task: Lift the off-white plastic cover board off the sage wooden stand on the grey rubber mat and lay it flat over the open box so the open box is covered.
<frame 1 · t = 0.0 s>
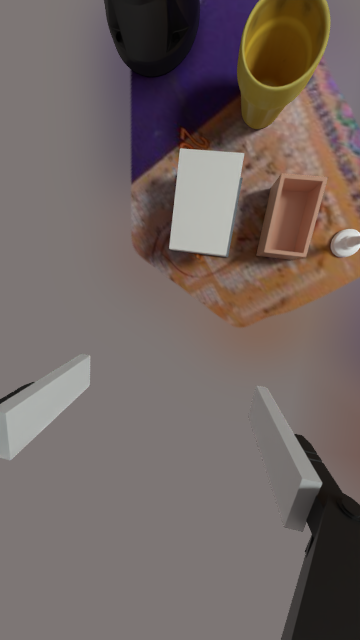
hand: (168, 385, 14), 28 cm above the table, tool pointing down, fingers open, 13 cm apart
chess piece: (344, 243, 35), on the table
open box: (281, 225, 36), on the table
plant pot: (260, 108, 32), on the table
cover board: (204, 207, 32), point 5 cm above the table, touching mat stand
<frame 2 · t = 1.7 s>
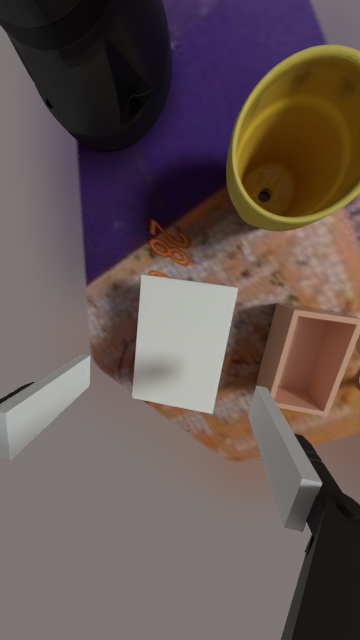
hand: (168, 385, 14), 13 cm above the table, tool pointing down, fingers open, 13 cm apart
open box: (291, 349, 26), on the table
plant pot: (262, 199, 22), on the table
cover board: (180, 344, 22), point 5 cm above the table, touching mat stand
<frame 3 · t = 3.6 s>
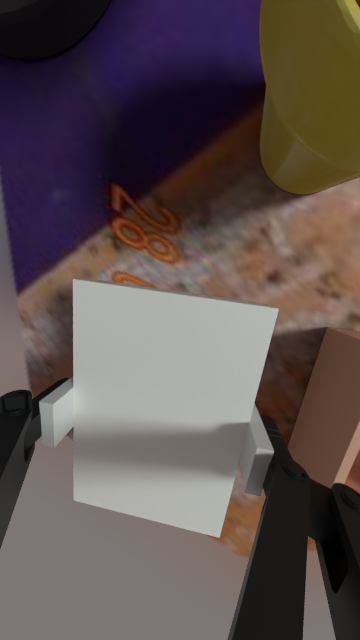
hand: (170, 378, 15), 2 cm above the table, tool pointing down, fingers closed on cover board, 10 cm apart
open box: (348, 401, 16), on the table
plant pot: (309, 142, 12), on the table
cover board: (160, 406, 12), point 5 cm above the table, touching gripper, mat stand
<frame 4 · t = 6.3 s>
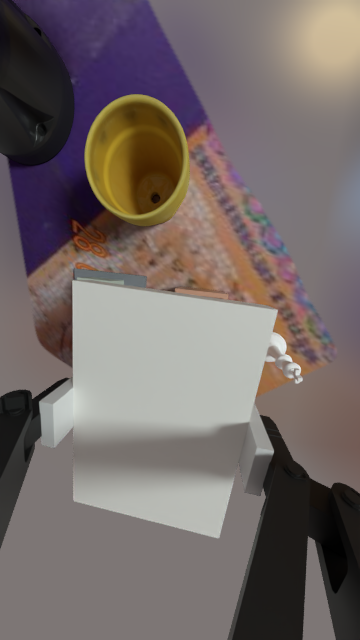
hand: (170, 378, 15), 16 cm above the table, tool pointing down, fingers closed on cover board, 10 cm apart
chess piece: (268, 346, 30), on the table
open box: (197, 325, 31), on the table
plant pot: (158, 200, 27), on the table
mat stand: (110, 314, 32), on the table
cover board: (160, 407, 12), point 20 cm above the table, touching gripper
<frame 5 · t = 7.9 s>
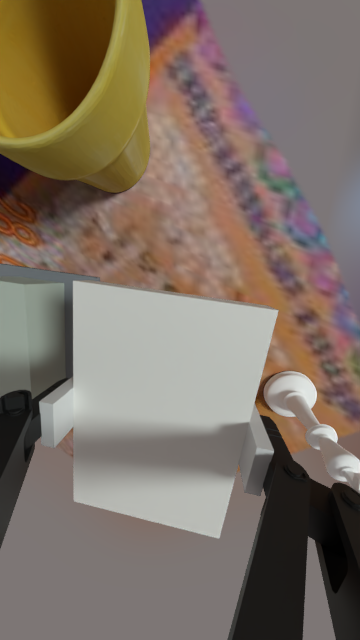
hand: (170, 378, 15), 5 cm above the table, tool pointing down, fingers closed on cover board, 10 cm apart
chess piece: (287, 391, 20), on the table
plant pot: (115, 154, 17), on the table
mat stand: (48, 332, 21), on the table
cover board: (160, 407, 12), point 8 cm above the table, touching gripper
when the fingers open (3 cm above the table, at t = 9.1 s): cover board drops 1 cm, resting on open box.
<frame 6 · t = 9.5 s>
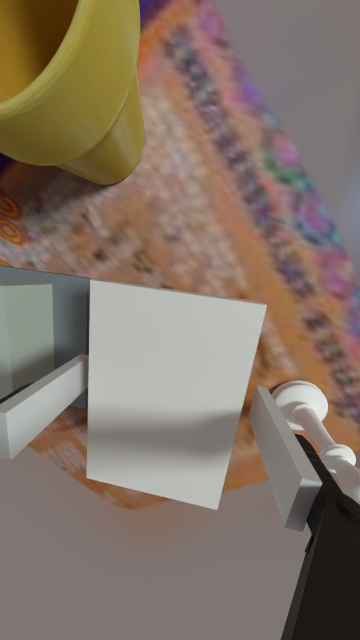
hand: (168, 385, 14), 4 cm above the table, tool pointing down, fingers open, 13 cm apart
chess piece: (294, 402, 18), on the table
plant pot: (106, 142, 15), on the table
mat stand: (36, 337, 20), on the table
cover board: (165, 393, 14), point 5 cm above the table, touching open box
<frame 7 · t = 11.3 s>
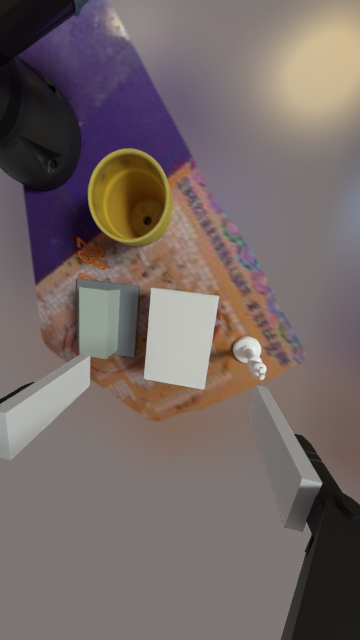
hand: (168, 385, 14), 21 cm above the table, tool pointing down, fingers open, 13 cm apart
chess piece: (246, 348, 34), on the table
plant pot: (150, 222, 32), on the table
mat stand: (107, 318, 36), on the table
cover board: (179, 337, 30), point 5 cm above the table, touching open box
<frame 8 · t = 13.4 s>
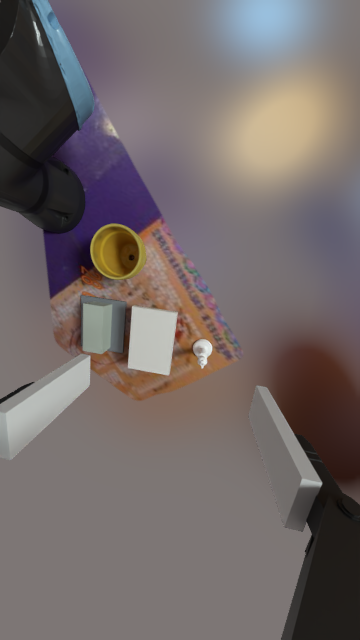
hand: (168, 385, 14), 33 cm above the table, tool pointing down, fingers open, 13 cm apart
chess piece: (202, 347, 48), on the table
plant pot: (133, 257, 45), on the table
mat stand: (103, 324, 50), on the table
cover board: (152, 339, 44), point 5 cm above the table, touching open box
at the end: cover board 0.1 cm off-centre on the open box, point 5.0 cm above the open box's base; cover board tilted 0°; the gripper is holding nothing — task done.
